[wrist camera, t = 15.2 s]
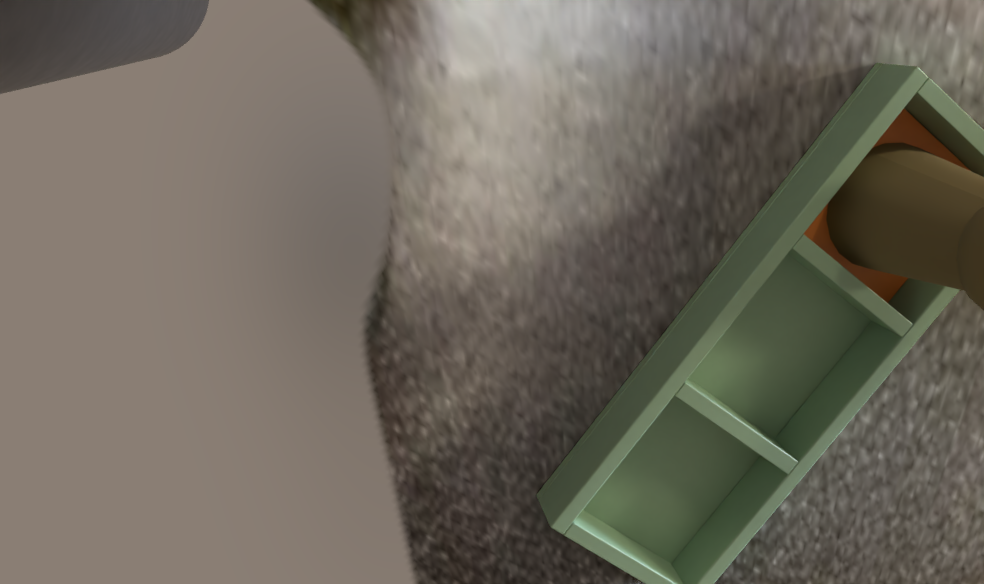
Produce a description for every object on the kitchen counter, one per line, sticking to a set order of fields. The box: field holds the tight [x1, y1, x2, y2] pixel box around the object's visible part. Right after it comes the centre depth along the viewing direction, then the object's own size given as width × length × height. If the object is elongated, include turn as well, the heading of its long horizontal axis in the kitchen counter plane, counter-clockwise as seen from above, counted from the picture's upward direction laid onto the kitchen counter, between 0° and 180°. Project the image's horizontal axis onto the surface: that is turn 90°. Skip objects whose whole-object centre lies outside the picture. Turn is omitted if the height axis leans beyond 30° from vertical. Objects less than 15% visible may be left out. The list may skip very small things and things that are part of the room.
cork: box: [826, 143, 984, 310], centre depth 37 cm, size 6×6×11 cm
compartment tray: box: [536, 63, 984, 584], centre depth 42 cm, size 9×26×3 cm, turn 143°
